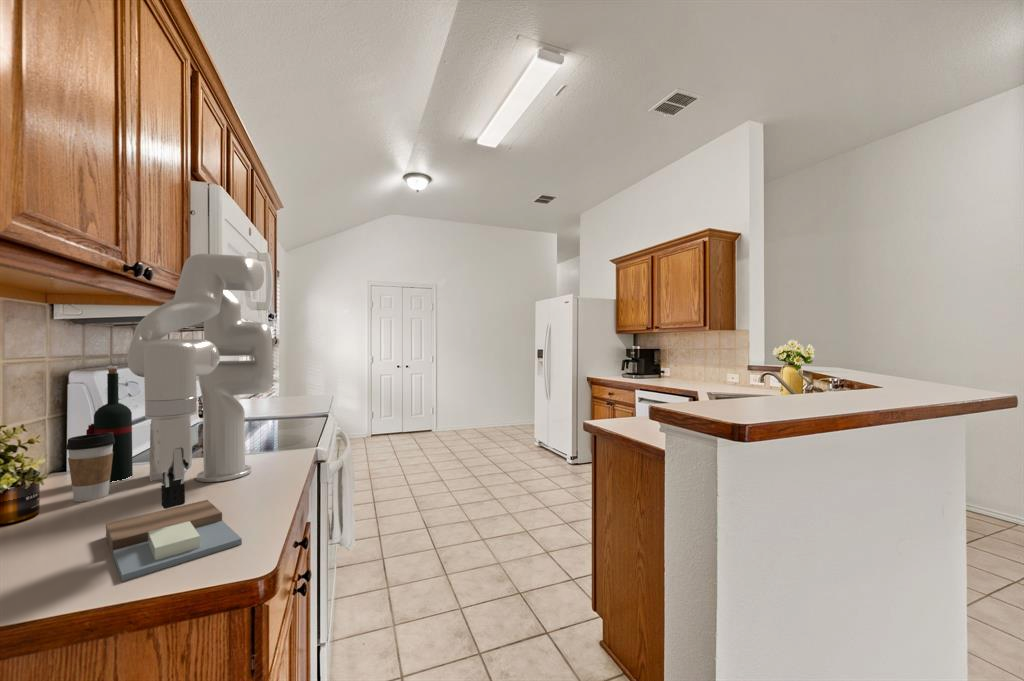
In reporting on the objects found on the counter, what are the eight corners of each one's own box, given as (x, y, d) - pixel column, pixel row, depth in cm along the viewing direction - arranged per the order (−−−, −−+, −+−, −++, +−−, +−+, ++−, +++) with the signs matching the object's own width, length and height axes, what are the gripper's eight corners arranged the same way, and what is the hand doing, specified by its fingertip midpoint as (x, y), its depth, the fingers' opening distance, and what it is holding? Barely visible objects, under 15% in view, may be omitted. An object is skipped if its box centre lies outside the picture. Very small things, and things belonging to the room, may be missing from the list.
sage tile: (147, 542, 76) (147, 531, 76) (189, 531, 80) (189, 521, 80) (154, 560, 69) (154, 548, 69) (200, 547, 74) (199, 535, 74)
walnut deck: (105, 536, 81) (105, 523, 81) (207, 511, 92) (207, 499, 92) (112, 555, 73) (112, 541, 73) (222, 525, 85) (222, 512, 85)
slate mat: (112, 556, 73) (112, 550, 73) (222, 525, 85) (222, 520, 85) (122, 581, 65) (122, 575, 65) (241, 544, 77) (241, 538, 77)
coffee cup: (99, 502, 99) (99, 437, 99) (55, 505, 97) (55, 439, 97) (124, 489, 107) (123, 430, 107) (83, 492, 105) (83, 432, 105)
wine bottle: (85, 479, 115) (84, 369, 116) (135, 473, 121) (134, 367, 121) (76, 488, 109) (76, 370, 109) (129, 480, 114) (129, 368, 115)
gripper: (138, 405, 81) (140, 500, 82) (152, 416, 71) (154, 524, 72) (187, 400, 87) (188, 489, 87) (206, 409, 77) (208, 510, 77)
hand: (173, 505), depth 80 cm, fingers closed
